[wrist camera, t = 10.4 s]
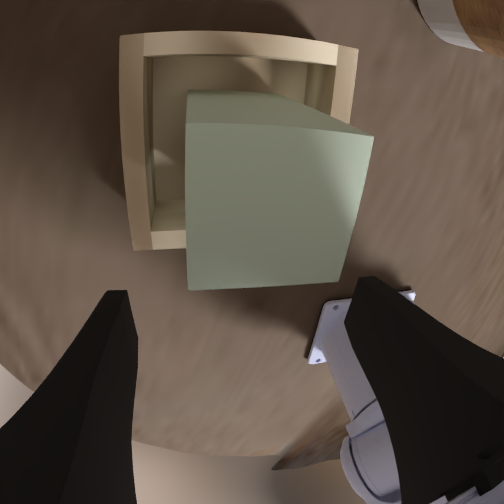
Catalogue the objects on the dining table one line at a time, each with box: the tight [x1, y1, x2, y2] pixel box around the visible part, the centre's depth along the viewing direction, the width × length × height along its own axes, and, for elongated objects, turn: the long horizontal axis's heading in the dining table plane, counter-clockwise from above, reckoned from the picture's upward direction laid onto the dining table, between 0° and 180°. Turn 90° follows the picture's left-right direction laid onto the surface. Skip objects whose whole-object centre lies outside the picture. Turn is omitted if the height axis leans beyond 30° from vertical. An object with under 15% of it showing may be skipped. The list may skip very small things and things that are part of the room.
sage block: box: [185, 90, 374, 291], centre depth 12 cm, size 4×4×10 cm
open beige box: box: [119, 31, 359, 251], centre depth 15 cm, size 10×10×4 cm
